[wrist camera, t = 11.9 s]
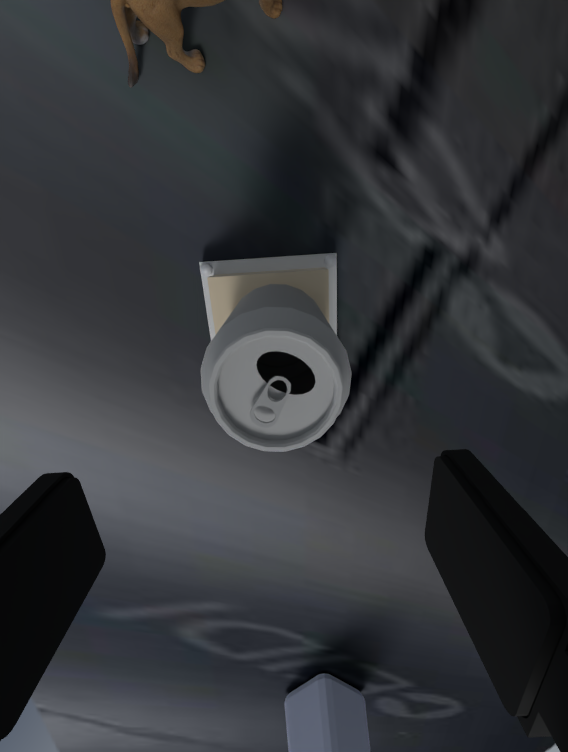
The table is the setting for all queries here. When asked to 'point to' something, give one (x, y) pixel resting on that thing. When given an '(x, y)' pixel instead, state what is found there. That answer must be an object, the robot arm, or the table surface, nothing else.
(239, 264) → the tower base
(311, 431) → the can
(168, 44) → the lion figurine
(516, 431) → the table surface
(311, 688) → the soap bottle
